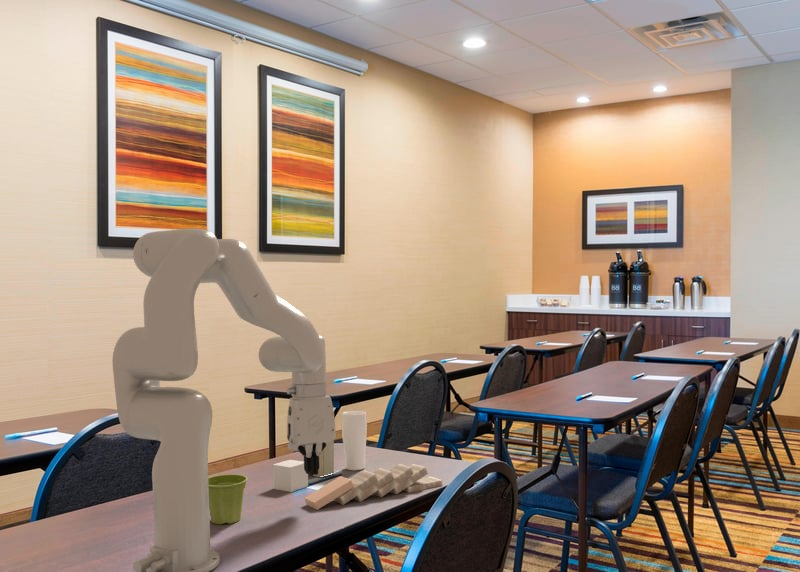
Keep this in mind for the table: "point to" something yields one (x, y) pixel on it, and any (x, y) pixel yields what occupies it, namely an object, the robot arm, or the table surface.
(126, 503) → the table surface
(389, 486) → the domino
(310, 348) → the robot arm
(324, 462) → the skincare box
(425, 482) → the domino
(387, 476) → the domino
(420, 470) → the domino
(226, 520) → the plant pot
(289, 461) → the white cube
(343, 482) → the domino
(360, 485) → the domino
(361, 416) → the drinking glass
